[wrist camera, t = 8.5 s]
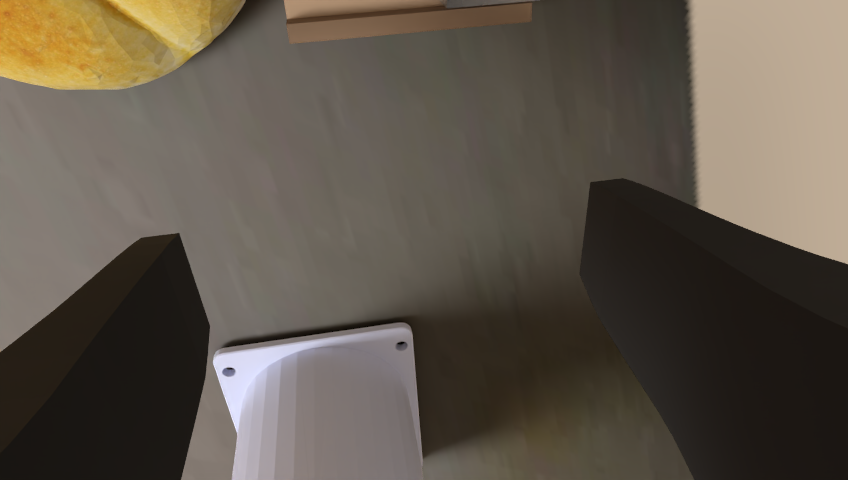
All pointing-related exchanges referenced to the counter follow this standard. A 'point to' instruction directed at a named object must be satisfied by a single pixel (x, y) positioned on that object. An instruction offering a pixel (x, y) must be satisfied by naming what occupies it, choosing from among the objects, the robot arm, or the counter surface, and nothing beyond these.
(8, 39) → the bread roll
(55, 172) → the counter surface
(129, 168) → the counter surface
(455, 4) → the jaw
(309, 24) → the press bed
